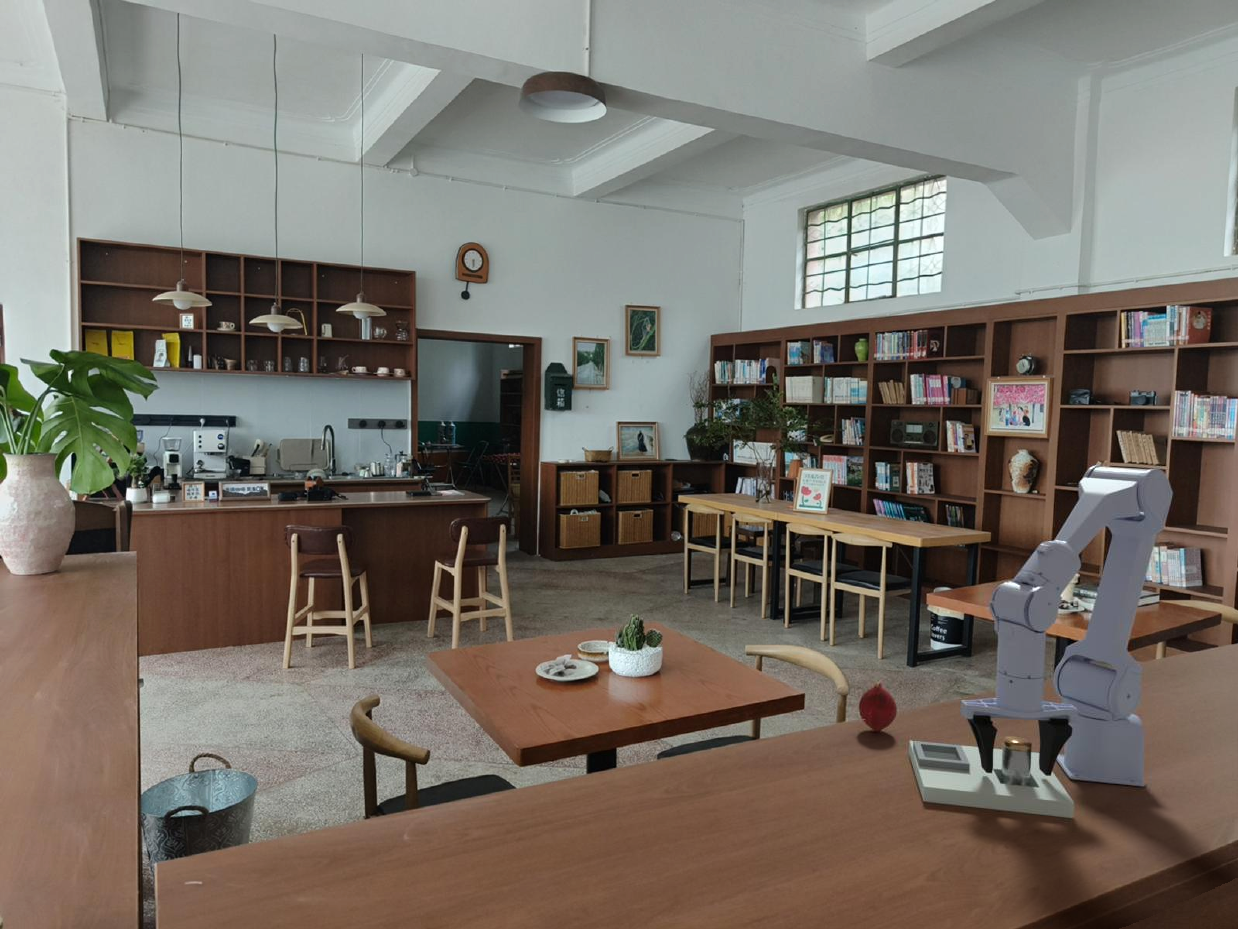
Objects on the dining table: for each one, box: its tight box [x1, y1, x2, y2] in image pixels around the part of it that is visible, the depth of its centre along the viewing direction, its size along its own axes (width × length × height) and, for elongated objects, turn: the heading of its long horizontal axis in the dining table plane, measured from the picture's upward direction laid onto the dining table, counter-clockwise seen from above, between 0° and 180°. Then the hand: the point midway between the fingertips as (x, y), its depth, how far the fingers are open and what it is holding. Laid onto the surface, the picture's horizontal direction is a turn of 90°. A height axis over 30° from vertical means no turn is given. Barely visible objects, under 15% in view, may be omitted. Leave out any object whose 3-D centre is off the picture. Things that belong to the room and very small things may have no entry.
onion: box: [858, 681, 898, 732], centre depth 133 cm, size 6×6×8 cm
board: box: [908, 740, 1075, 819], centre depth 114 cm, size 18×16×3 cm
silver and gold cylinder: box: [1001, 735, 1033, 787], centre depth 112 cm, size 4×4×7 cm
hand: (1015, 771), depth 112 cm, fingers open, 7 cm apart
